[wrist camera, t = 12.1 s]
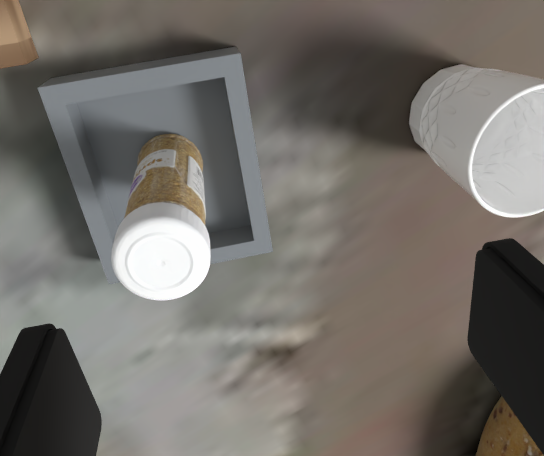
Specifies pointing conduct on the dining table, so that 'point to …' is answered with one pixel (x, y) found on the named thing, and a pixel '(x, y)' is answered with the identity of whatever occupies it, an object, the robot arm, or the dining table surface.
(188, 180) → the sprinkles bottle
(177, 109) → the tray
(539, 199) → the white cup
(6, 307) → the dining table surface
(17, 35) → the holder
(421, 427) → the dining table surface
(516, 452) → the bread
